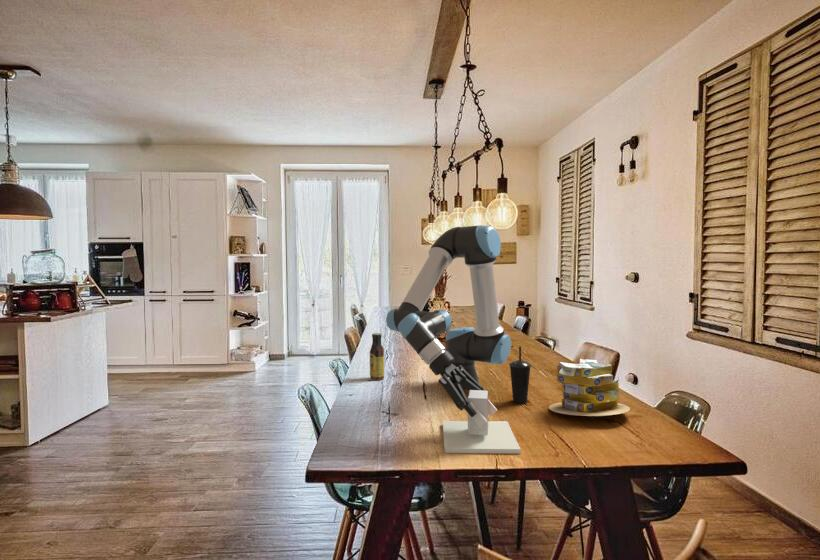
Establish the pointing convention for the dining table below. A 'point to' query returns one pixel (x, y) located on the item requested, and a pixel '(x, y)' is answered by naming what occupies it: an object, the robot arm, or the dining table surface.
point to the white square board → (479, 438)
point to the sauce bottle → (377, 358)
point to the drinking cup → (520, 379)
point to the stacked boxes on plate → (588, 390)
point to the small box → (481, 404)
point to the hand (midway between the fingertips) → (489, 418)
